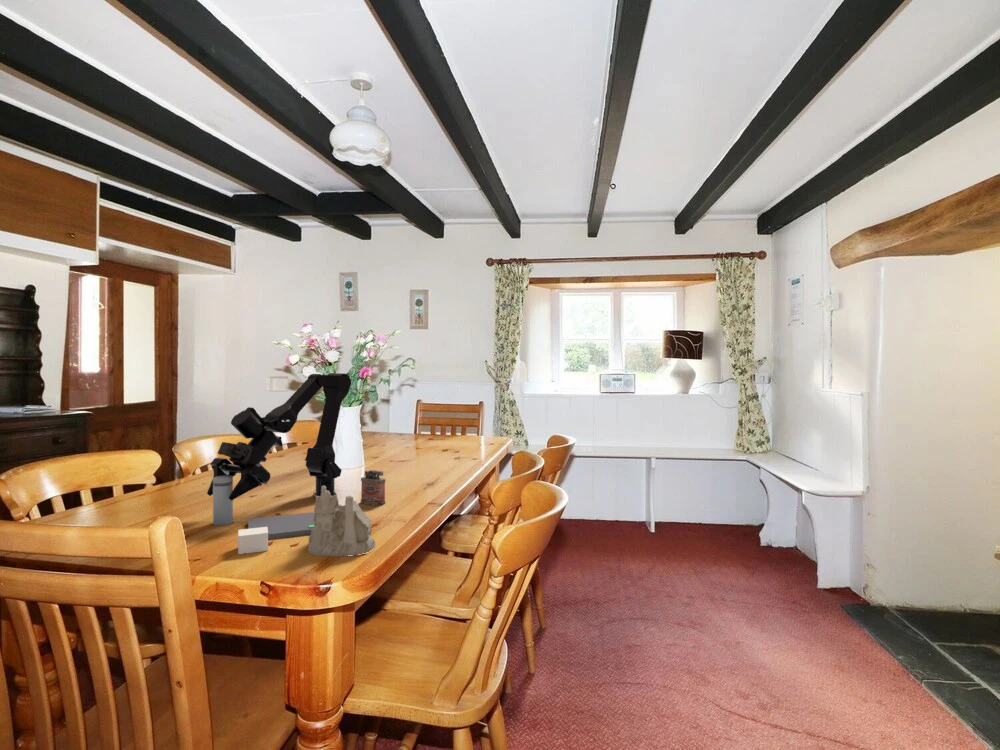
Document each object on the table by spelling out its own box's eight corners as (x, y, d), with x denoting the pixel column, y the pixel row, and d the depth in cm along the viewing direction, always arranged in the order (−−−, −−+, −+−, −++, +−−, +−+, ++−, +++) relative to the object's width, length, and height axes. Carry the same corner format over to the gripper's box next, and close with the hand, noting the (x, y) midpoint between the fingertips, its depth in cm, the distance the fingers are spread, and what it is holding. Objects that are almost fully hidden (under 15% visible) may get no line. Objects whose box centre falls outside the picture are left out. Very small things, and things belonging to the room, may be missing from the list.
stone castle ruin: (363, 558, 115) (363, 487, 116) (293, 556, 117) (293, 487, 118) (390, 540, 130) (389, 477, 131) (327, 538, 133) (327, 477, 134)
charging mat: (239, 524, 139) (239, 508, 139) (313, 516, 147) (313, 501, 146) (238, 554, 117) (238, 536, 117) (324, 543, 124) (324, 526, 124)
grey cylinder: (213, 521, 141) (213, 476, 141) (233, 519, 143) (233, 474, 143) (212, 526, 137) (212, 479, 137) (232, 524, 139) (232, 478, 139)
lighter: (358, 503, 161) (358, 470, 161) (364, 500, 164) (365, 468, 164) (381, 505, 158) (381, 472, 158) (387, 503, 162) (387, 470, 161)
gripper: (217, 428, 148) (176, 474, 139) (260, 433, 139) (220, 483, 129) (243, 453, 155) (205, 499, 145) (286, 459, 146) (249, 508, 136)
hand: (219, 497), depth 139 cm, fingers open, 9 cm apart
